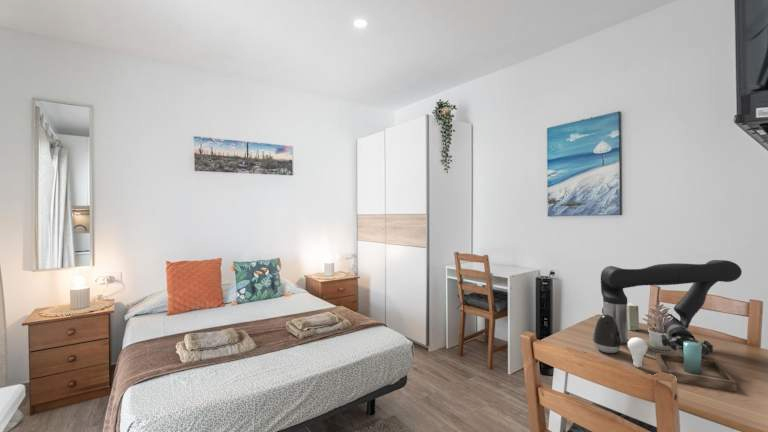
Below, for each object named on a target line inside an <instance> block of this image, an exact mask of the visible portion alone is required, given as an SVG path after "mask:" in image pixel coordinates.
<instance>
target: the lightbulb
mask: <svg viewBox="0 0 768 432" xmlns="http://www.w3.org/2000/svg"><path fill="white" fill-rule="evenodd" d="M627 348H628V350H629V351H630V353H631V357H632V358H631V359H632V360H633V362H632V364H633V366H635V367H636V368H638V369H639V368H641V367H642V366H643V361H644V356H645V354H646V353H647V352H648V349H649V347H648V343H646V341H645V340H644V339H642V338H640V337H631V338H630V339H629V340H628V342H627Z"/></svg>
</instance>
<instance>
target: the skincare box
mask: <svg viewBox="0 0 768 432" xmlns="http://www.w3.org/2000/svg"><path fill="white" fill-rule="evenodd" d="M627 312H628V331H636V330H639V331H640V322H639V321H640V318H639V316H640V315H639V305H636V304H634V303H633V302H627Z"/></svg>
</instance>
